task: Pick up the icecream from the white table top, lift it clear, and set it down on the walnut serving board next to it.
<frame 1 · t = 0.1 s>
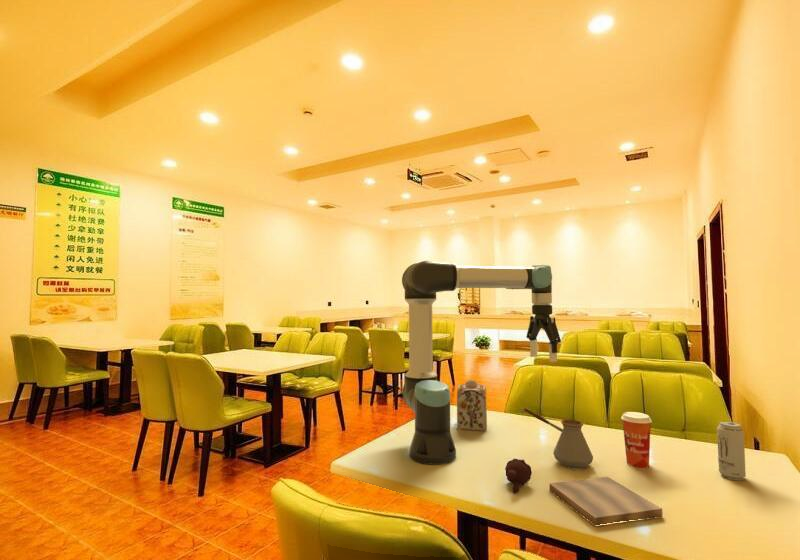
hand: (543, 359, 160), 28 cm above the table, tool pointing down, fingers open, 13 cm apart
icecream: (518, 484, 115), on the table
coffee pot: (556, 461, 131), on the table
energy drink can: (732, 477, 118), on the table
coffee cup: (638, 464, 128), on the table
decorative jar: (472, 426, 167), on the table
serving board: (602, 503, 103), on the table
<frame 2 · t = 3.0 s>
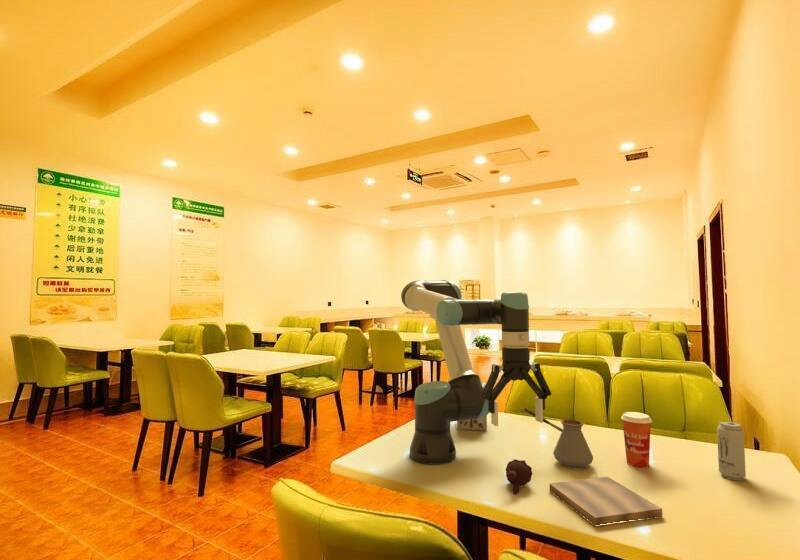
hand: (517, 423, 115), 17 cm above the table, tool pointing down, fingers open, 13 cm apart
nothing on the table moved.
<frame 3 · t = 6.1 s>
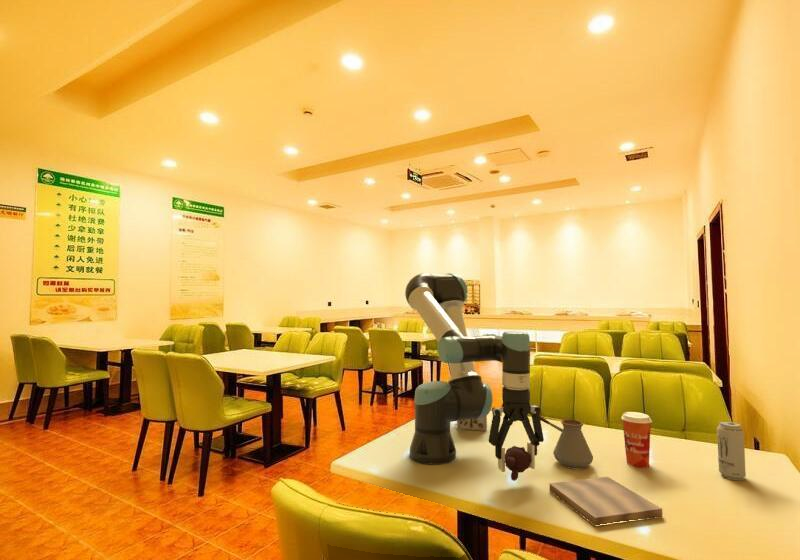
hand: (516, 468, 115), 4 cm above the table, tool pointing down, fingers closed on icecream, 8 cm apart
icecream: (517, 471, 114), point 3 cm above the table, touching gripper
everything else where it was.
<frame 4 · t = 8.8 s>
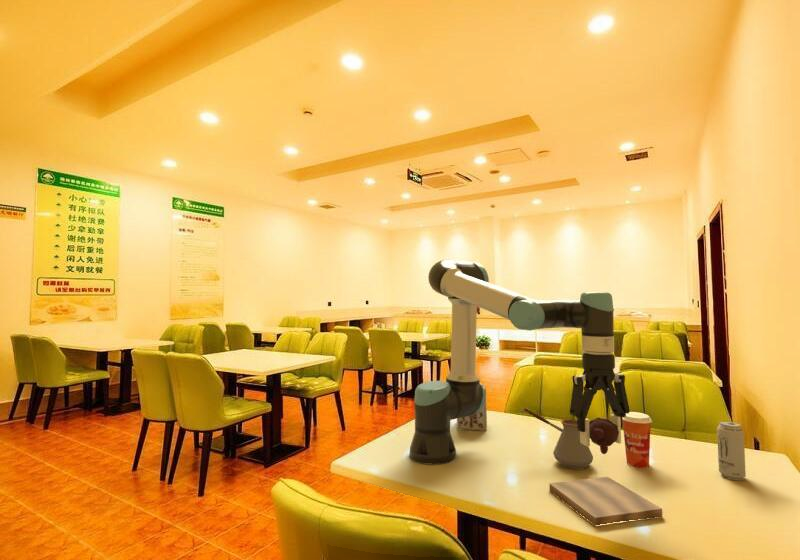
hand: (600, 443, 104), 15 cm above the table, tool pointing down, fingers closed on icecream, 8 cm apart
icecream: (602, 446, 103), point 14 cm above the table, touching gripper
everything else where it was.
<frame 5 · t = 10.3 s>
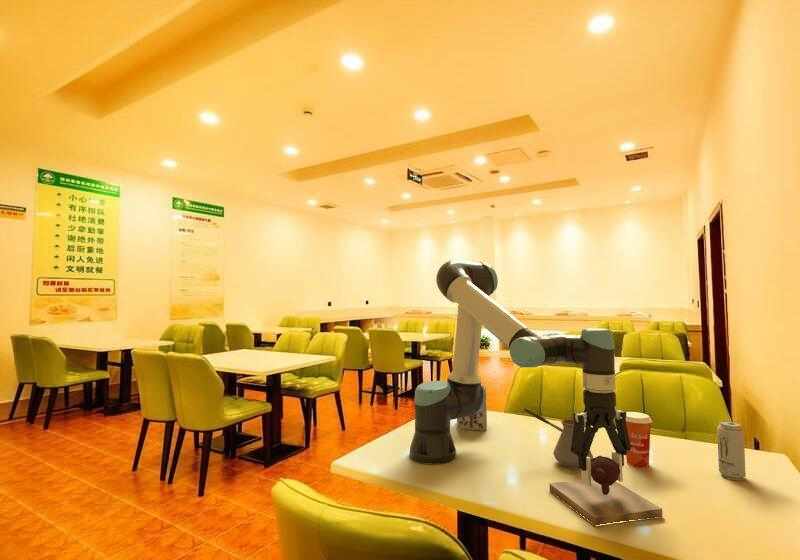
hand: (602, 481, 103), 5 cm above the table, tool pointing down, fingers closed on icecream, 8 cm apart
icecream: (603, 484, 102), point 5 cm above the table, touching gripper
everything else where it was.
when the fingers open (3 cm above the table, at t = 11.6 s): icecream stays where it is, resting on serving board.
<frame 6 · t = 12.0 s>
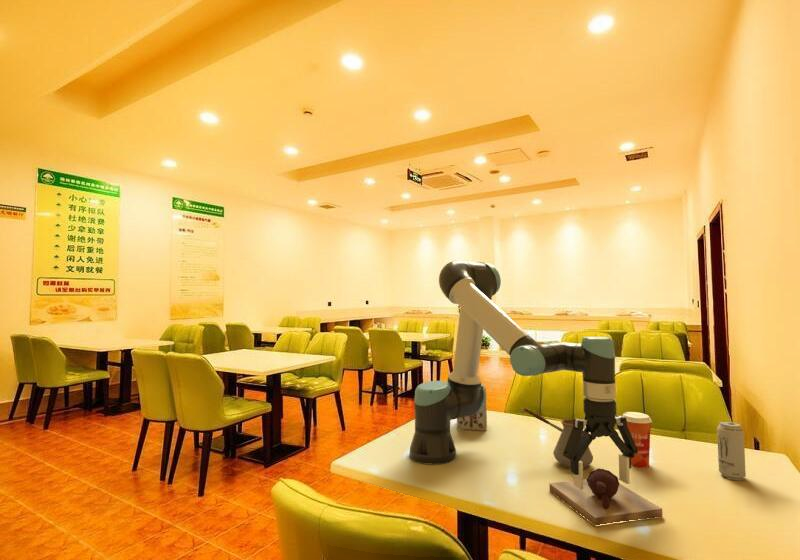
hand: (601, 484, 104), 5 cm above the table, tool pointing down, fingers open, 13 cm apart
icecream: (603, 497, 103), point 2 cm above the table, touching serving board
everything else where it was.
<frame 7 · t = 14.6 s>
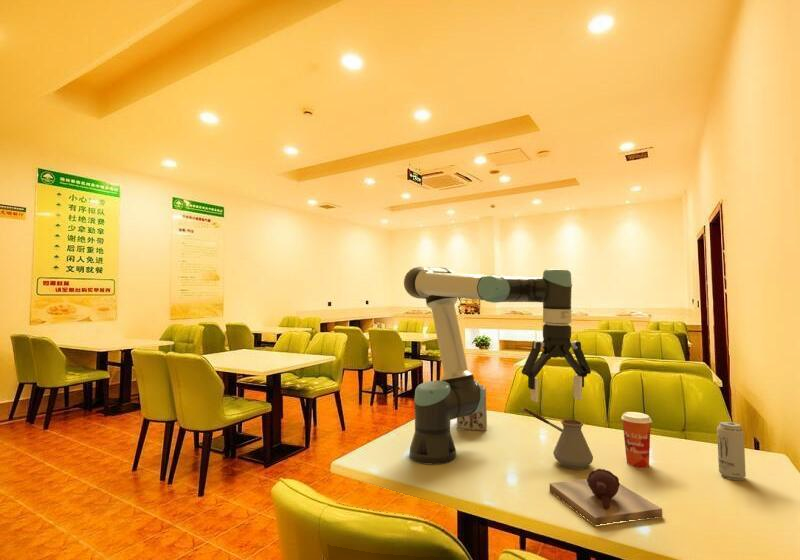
hand: (556, 400, 116), 23 cm above the table, tool pointing down, fingers open, 13 cm apart
nothing on the table moved.
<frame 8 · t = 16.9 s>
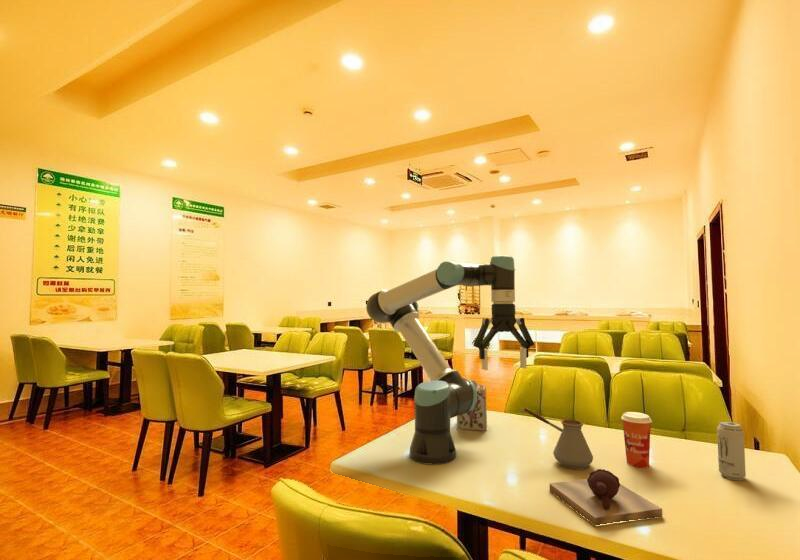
hand: (504, 368, 134), 29 cm above the table, tool pointing down, fingers open, 13 cm apart
nothing on the table moved.
at the end: icecream inside the target area on the serving board (1.2 cm from its centre), point 1.8 cm above the serving board's base; the gripper is holding nothing; icecream tilted 0° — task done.
